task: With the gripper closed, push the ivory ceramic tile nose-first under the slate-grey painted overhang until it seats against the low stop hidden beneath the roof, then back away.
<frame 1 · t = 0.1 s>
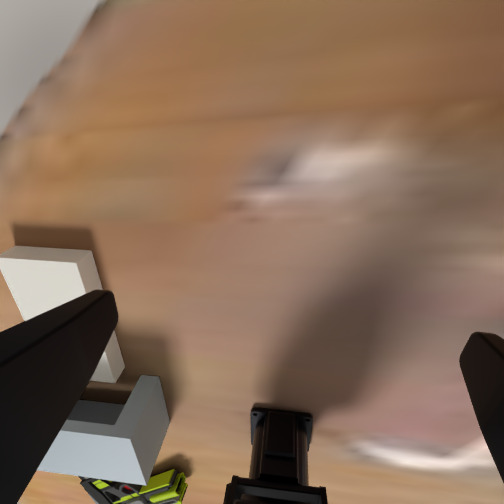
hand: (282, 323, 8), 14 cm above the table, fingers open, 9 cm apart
tile: (78, 309, 30), on the table
toy gun: (117, 462, 44), on the table
overhang: (106, 394, 35), on the table
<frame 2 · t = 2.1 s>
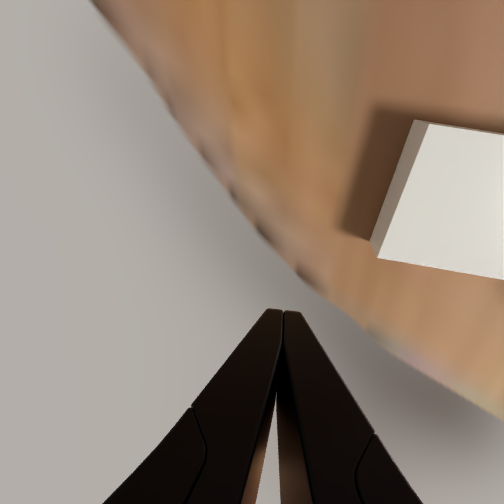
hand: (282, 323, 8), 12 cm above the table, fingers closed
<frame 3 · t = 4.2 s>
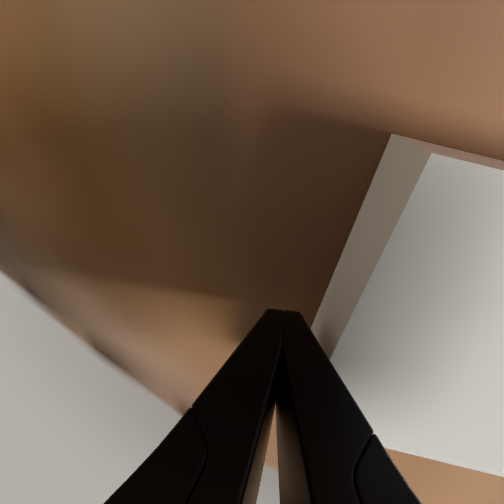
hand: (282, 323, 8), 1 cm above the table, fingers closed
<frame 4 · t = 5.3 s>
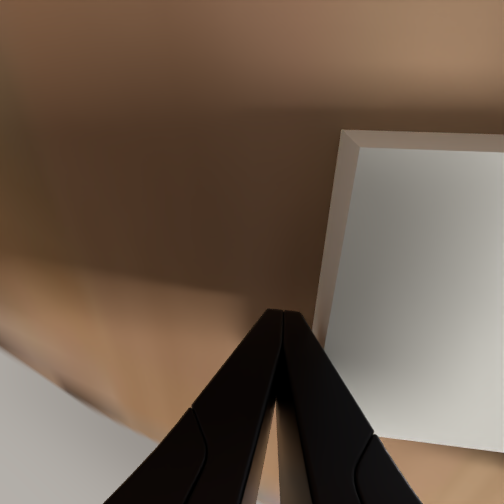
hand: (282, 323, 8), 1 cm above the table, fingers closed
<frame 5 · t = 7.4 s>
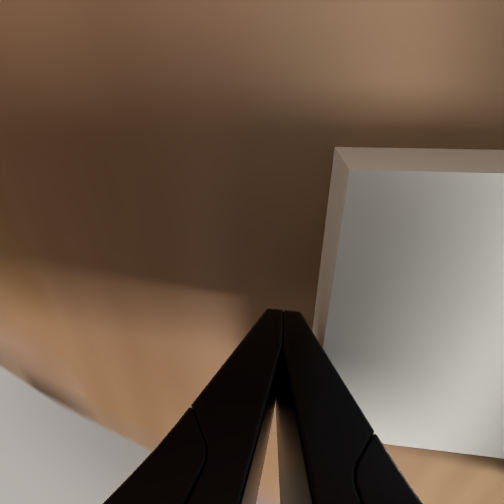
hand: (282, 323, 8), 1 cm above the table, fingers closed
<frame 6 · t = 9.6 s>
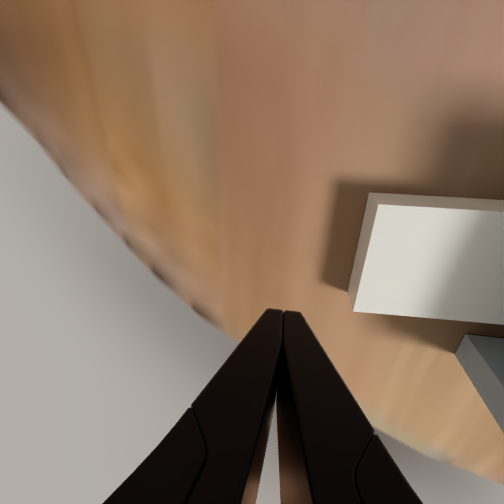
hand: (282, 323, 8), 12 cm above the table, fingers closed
tile: (471, 251, 19), on the table
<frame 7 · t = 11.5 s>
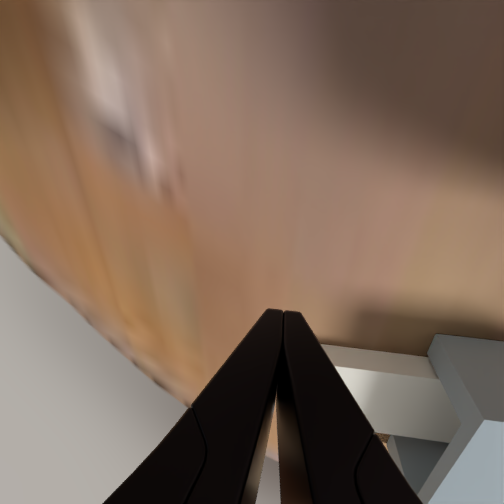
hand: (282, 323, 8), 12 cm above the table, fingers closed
tile: (388, 379, 25), on the table
overhang: (458, 402, 25), on the table
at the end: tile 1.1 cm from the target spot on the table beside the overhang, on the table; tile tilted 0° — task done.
